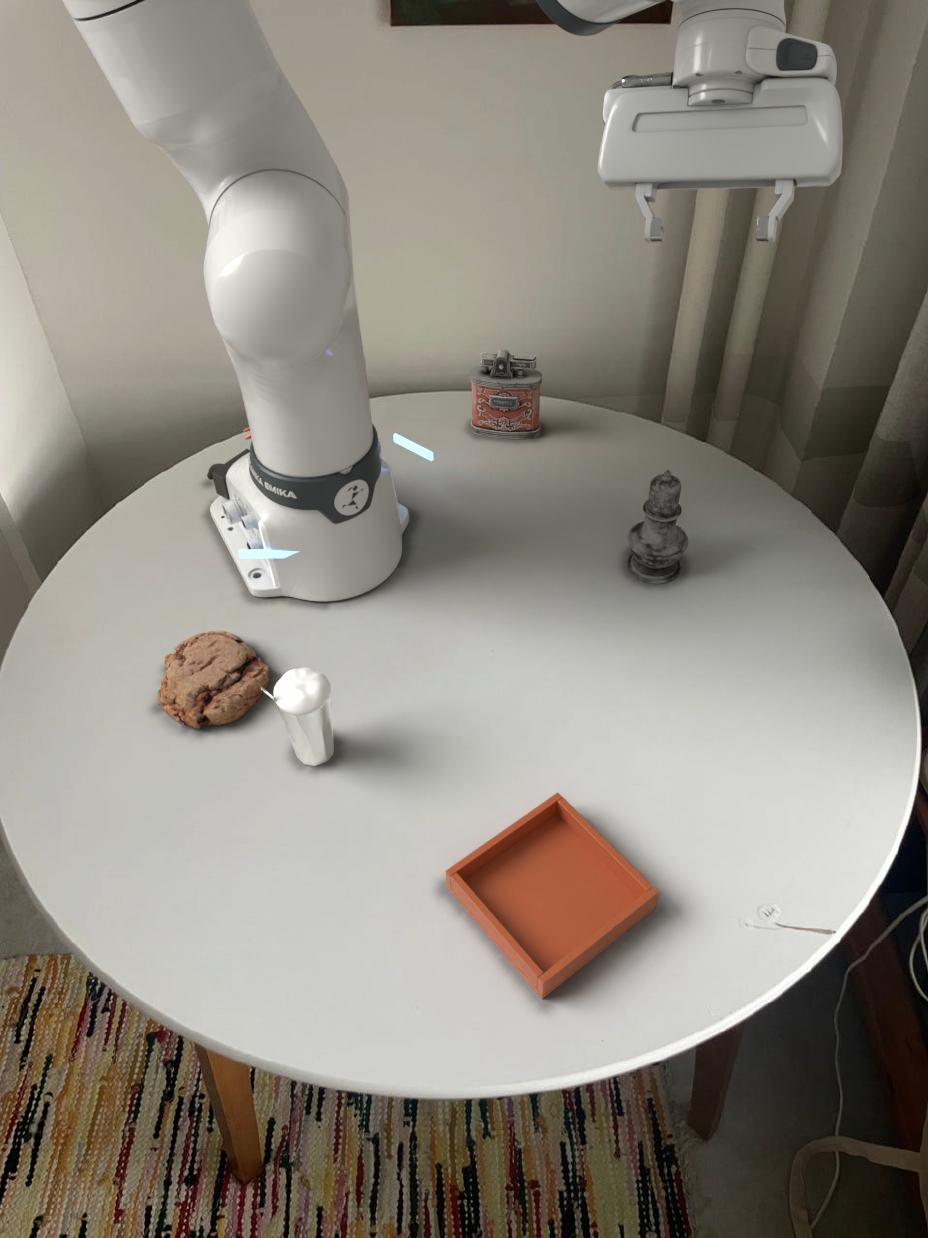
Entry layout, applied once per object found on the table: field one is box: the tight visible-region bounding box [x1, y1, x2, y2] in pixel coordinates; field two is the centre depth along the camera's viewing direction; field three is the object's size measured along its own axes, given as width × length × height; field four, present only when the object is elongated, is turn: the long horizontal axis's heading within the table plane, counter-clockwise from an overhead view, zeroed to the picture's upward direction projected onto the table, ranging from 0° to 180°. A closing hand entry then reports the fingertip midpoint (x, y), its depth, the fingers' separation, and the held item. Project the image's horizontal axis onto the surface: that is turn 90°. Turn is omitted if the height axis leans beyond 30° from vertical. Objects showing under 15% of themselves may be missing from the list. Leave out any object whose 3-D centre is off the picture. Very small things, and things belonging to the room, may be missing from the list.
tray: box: [445, 792, 660, 1000], centre depth 77 cm, size 11×11×2 cm
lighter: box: [469, 349, 543, 440], centre depth 115 cm, size 8×3×10 cm, turn 80°
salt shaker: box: [626, 469, 689, 585], centre depth 98 cm, size 6×6×12 cm
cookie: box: [157, 630, 270, 730], centre depth 92 cm, size 10×11×3 cm
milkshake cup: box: [260, 667, 335, 767], centre depth 84 cm, size 4×5×10 cm
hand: (708, 241), depth 88 cm, fingers open, 8 cm apart
